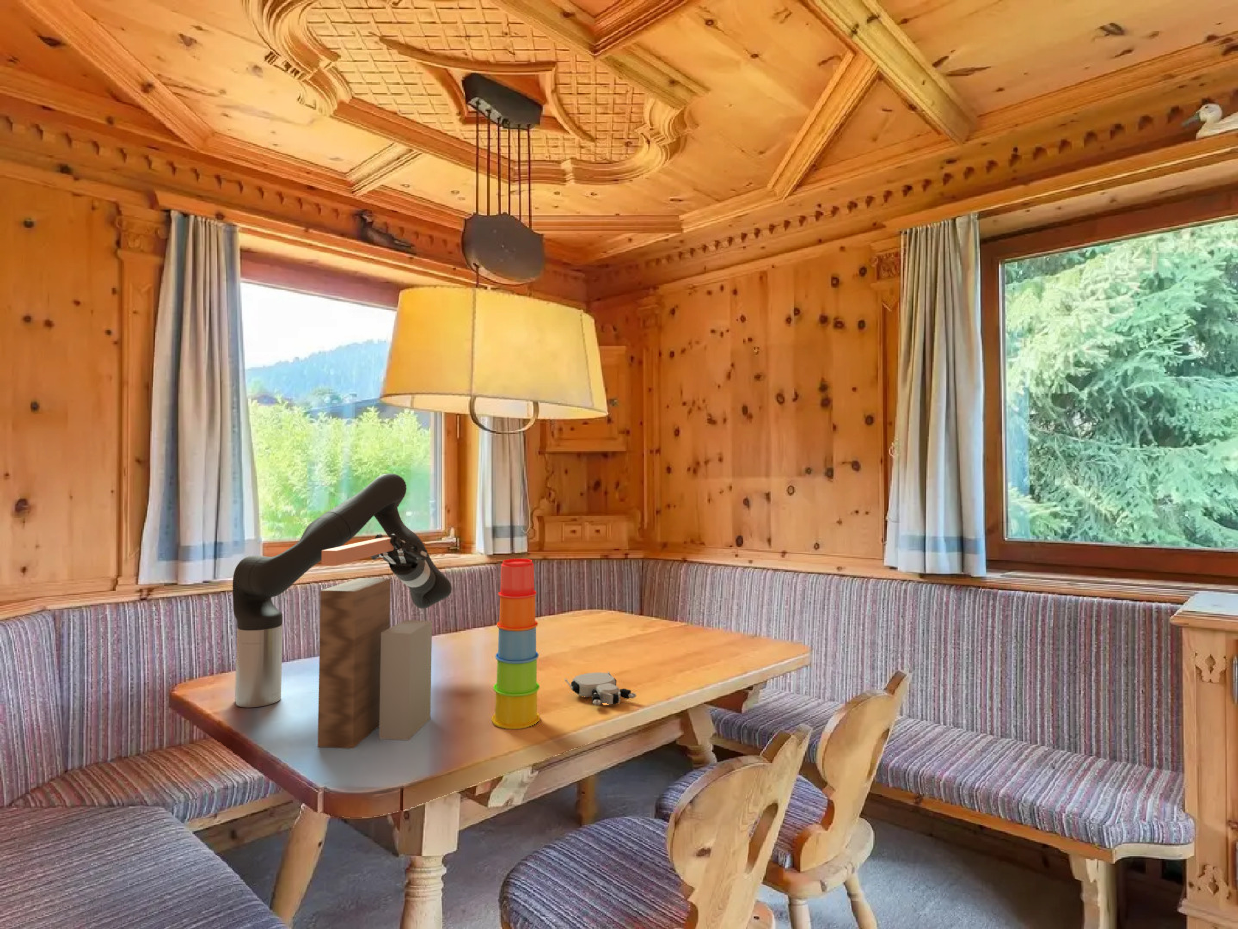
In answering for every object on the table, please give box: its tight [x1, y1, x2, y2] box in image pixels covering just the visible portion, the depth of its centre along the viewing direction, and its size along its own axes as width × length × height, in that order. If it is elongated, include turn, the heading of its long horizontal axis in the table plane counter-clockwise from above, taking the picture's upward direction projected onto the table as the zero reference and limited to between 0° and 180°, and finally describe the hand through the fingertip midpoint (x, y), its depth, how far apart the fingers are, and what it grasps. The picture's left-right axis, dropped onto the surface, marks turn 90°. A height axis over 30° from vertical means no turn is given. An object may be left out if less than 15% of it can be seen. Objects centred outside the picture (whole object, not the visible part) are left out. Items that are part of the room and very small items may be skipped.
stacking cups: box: [491, 557, 541, 730], centre depth 145 cm, size 10×10×35 cm
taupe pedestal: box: [378, 619, 433, 741], centre depth 140 cm, size 6×12×21 cm, turn 175°
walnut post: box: [317, 577, 391, 749], centre depth 137 cm, size 7×16×30 cm, turn 175°
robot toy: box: [564, 671, 637, 706], centre depth 159 cm, size 12×4×15 cm
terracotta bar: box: [320, 536, 394, 567], centre depth 139 cm, size 3×26×3 cm, turn 175°
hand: (385, 538), depth 151 cm, fingers closed on terracotta bar, 2 cm apart
